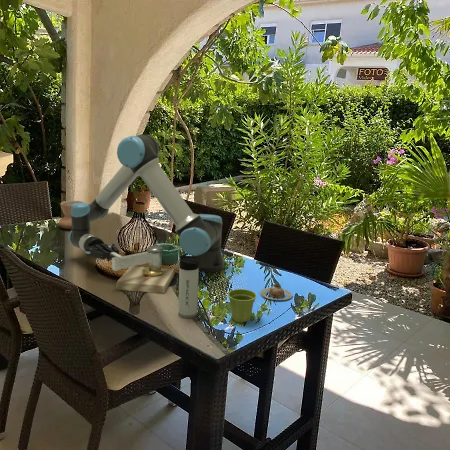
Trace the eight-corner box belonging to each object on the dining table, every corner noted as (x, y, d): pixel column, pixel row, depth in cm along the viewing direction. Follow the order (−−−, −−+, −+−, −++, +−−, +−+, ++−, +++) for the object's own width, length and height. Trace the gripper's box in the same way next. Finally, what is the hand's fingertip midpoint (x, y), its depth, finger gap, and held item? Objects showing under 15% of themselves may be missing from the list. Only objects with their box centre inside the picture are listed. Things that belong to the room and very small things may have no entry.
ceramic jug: (52, 227, 250) (50, 202, 247) (74, 223, 262) (73, 198, 258) (73, 234, 241) (72, 207, 237) (95, 228, 252) (94, 203, 249)
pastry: (267, 304, 167) (267, 292, 166) (255, 291, 178) (256, 280, 177) (297, 301, 171) (298, 289, 169) (284, 289, 182) (285, 278, 181)
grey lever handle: (155, 267, 187) (155, 244, 185) (167, 273, 182) (167, 249, 179) (108, 278, 173) (107, 253, 171) (119, 284, 168) (119, 259, 165)
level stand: (173, 276, 188) (174, 268, 188) (164, 293, 171) (164, 285, 170) (130, 273, 190) (130, 265, 189) (116, 289, 172) (116, 281, 172)
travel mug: (186, 308, 159) (188, 253, 154) (200, 314, 155) (202, 257, 150) (173, 314, 155) (174, 257, 150) (188, 320, 151) (189, 262, 146)
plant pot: (252, 326, 148) (254, 301, 146) (224, 323, 150) (225, 298, 148) (256, 314, 157) (258, 290, 155) (229, 311, 159) (230, 287, 157)
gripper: (106, 250, 197) (135, 266, 180) (77, 256, 188) (105, 273, 172) (106, 233, 195) (135, 247, 178) (76, 238, 186) (105, 253, 170)
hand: (120, 260), depth 175 cm, fingers closed
